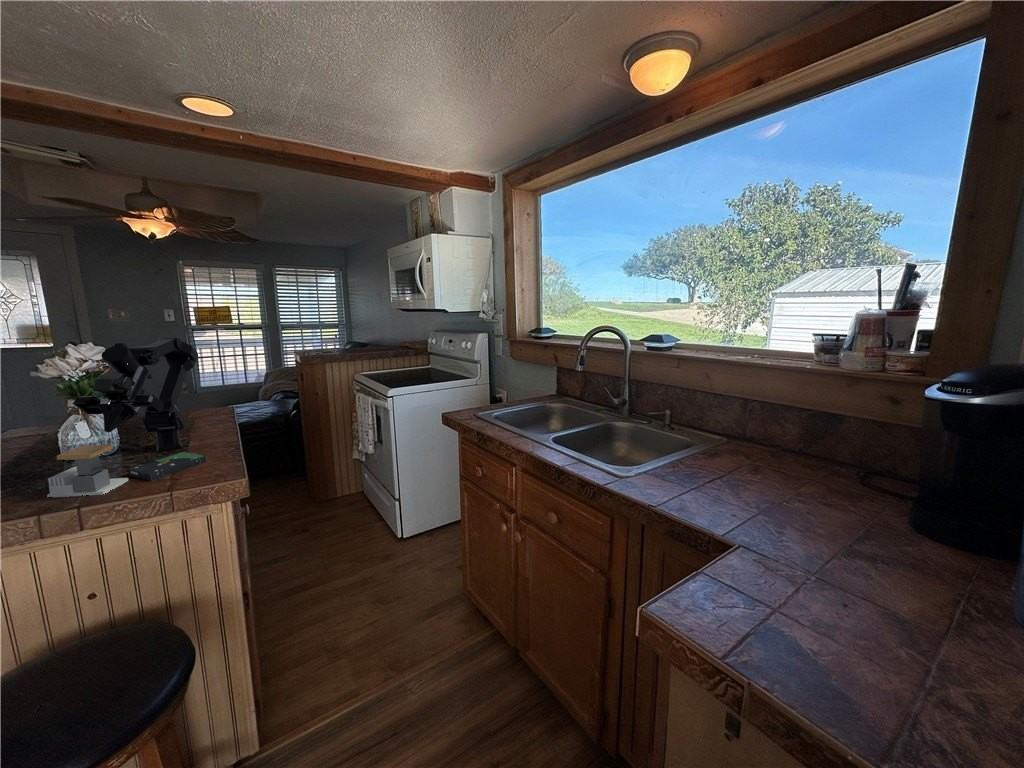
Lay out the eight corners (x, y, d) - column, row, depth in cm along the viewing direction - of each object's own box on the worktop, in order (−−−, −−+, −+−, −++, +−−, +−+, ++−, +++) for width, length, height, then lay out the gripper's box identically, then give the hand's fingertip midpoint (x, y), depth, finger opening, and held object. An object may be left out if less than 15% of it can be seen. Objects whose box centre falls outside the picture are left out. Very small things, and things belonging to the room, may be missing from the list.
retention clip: (85, 468, 107) (81, 446, 106) (116, 466, 108) (112, 444, 107) (61, 479, 100) (56, 455, 99) (94, 477, 101) (89, 454, 100)
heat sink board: (77, 483, 109) (73, 466, 109) (128, 480, 111) (125, 463, 110) (47, 497, 101) (43, 479, 100) (103, 494, 103) (99, 476, 102)
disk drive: (152, 483, 111) (208, 463, 125) (151, 473, 111) (206, 454, 124) (128, 478, 115) (184, 458, 128) (126, 468, 114) (183, 450, 128)
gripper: (71, 366, 110) (41, 417, 101) (150, 365, 113) (127, 415, 104) (101, 389, 119) (75, 438, 111) (173, 388, 122) (153, 435, 114)
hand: (107, 431), depth 110 cm, fingers closed
